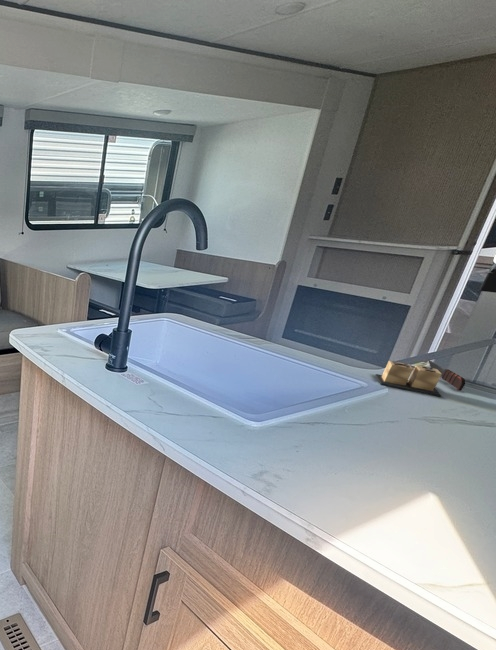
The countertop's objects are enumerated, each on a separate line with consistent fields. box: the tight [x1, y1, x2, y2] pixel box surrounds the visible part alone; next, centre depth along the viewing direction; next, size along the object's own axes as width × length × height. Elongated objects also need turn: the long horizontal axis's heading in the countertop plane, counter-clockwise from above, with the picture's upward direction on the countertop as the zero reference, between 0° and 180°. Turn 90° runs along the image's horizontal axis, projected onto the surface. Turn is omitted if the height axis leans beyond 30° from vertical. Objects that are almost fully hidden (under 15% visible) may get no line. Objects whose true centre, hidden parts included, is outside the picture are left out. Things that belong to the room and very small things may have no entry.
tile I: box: [408, 365, 442, 391], centre depth 105 cm, size 4×4×5 cm
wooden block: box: [381, 360, 414, 385], centre depth 107 cm, size 4×4×5 cm
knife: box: [428, 359, 466, 392], centre depth 112 cm, size 17×1×3 cm, turn 159°
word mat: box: [375, 373, 442, 398], centre depth 107 cm, size 11×8×1 cm
